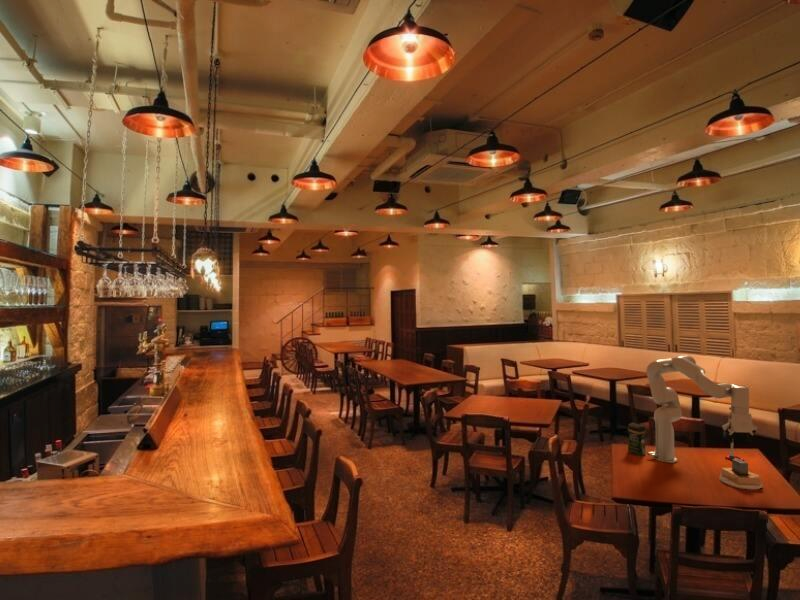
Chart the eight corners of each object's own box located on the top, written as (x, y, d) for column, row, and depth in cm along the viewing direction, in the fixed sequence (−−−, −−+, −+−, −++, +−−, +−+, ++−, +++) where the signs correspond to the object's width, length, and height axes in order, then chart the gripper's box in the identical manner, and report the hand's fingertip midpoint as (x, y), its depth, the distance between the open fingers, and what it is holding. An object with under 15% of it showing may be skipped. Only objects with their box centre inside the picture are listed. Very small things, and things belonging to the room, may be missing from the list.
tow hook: (730, 456, 279) (723, 458, 274) (731, 435, 279) (723, 436, 274) (746, 460, 272) (739, 462, 267) (747, 438, 272) (739, 440, 267)
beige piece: (734, 490, 230) (734, 479, 230) (711, 475, 248) (711, 465, 248) (771, 490, 229) (771, 479, 229) (745, 476, 247) (745, 466, 247)
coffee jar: (625, 452, 286) (625, 422, 286) (633, 450, 290) (633, 421, 290) (640, 456, 278) (639, 426, 278) (648, 454, 281) (647, 424, 281)
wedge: (740, 482, 235) (740, 463, 235) (732, 477, 241) (732, 459, 241) (748, 482, 235) (748, 463, 235) (740, 477, 241) (739, 459, 241)
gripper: (727, 411, 235) (727, 444, 235) (762, 411, 234) (762, 444, 234) (718, 407, 242) (717, 439, 242) (751, 408, 241) (751, 439, 241)
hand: (739, 442), depth 238 cm, fingers open, 9 cm apart
